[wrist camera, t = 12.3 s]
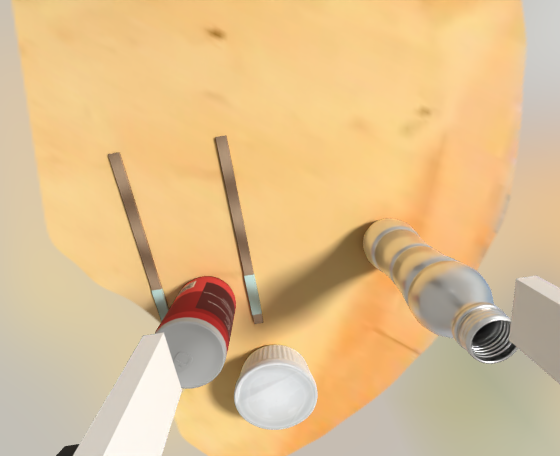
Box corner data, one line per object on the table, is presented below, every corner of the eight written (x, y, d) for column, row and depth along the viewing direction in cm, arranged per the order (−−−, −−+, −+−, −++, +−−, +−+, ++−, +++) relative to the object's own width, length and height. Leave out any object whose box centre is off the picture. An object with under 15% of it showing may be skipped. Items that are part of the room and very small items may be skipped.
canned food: (173, 321, 41) (141, 382, 30) (184, 268, 39) (153, 313, 28) (229, 332, 42) (217, 395, 31) (242, 280, 40) (233, 329, 29)
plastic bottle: (389, 203, 38) (517, 278, 19) (417, 241, 40) (559, 346, 21) (348, 234, 39) (428, 336, 20) (377, 271, 41) (476, 396, 22)
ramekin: (258, 325, 42) (258, 351, 37) (326, 354, 45) (334, 383, 40) (224, 382, 45) (219, 414, 40) (289, 407, 47) (292, 440, 42)
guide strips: (108, 154, 34) (107, 154, 34) (226, 135, 34) (226, 135, 34) (171, 348, 43) (170, 350, 42) (265, 333, 43) (265, 334, 42)
